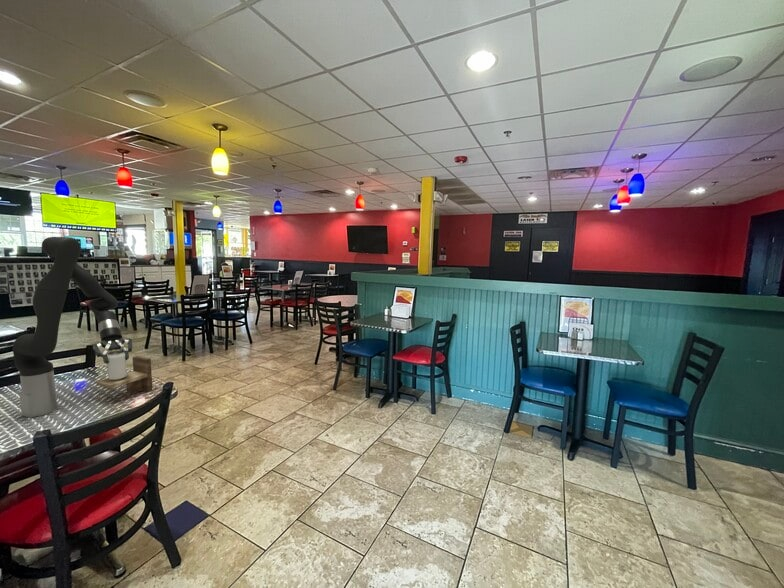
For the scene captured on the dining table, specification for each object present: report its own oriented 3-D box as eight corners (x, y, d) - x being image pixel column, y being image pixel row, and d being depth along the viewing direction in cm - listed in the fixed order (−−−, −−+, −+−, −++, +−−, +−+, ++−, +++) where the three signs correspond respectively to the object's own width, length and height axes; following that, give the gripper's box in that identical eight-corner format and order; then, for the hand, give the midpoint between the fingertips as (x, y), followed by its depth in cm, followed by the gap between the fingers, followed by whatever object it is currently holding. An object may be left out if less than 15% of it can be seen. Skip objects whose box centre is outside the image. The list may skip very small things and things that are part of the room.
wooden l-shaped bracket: (112, 404, 139) (109, 370, 138) (98, 400, 143) (95, 366, 141) (152, 390, 155) (150, 358, 154) (138, 386, 159) (136, 356, 157)
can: (110, 381, 141) (108, 355, 139) (106, 377, 145) (104, 352, 143) (128, 377, 146) (127, 352, 145) (124, 373, 150) (123, 349, 148)
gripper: (89, 329, 142) (96, 360, 136) (130, 324, 153) (138, 353, 147) (88, 338, 146) (95, 369, 140) (128, 333, 157) (136, 361, 151)
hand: (117, 361), depth 143 cm, fingers closed on can, 6 cm apart
